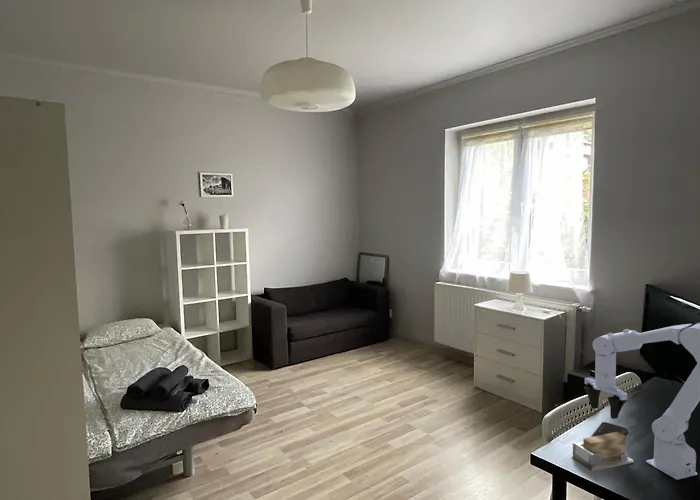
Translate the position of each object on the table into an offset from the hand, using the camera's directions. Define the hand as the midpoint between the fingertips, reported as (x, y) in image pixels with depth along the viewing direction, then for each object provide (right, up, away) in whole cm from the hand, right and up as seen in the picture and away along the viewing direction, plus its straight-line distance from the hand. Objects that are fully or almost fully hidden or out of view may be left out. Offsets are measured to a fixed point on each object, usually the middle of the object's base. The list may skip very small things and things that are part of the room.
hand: (604, 413), depth 141 cm
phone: (+5, -10, +6) cm, 13 cm away
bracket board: (-5, -11, -9) cm, 15 cm away
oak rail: (-6, -9, -9) cm, 14 cm away
